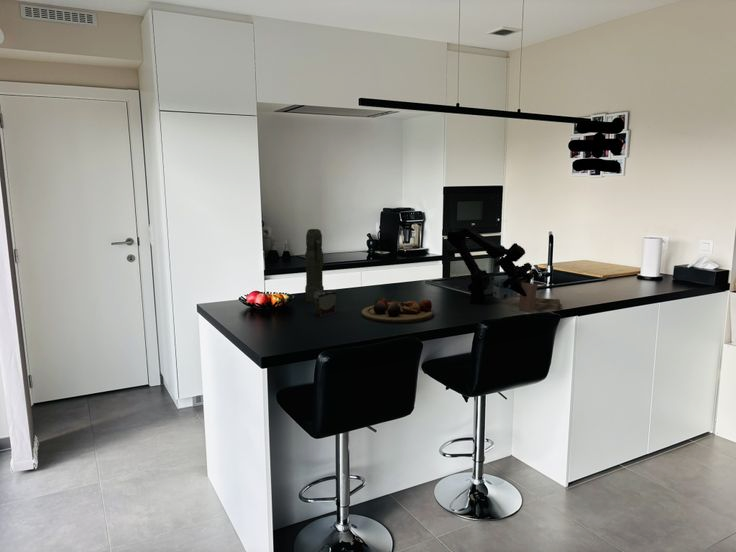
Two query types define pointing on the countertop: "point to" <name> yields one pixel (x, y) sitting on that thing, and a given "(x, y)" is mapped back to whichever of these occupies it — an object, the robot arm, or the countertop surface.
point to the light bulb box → (502, 288)
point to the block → (528, 297)
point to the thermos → (313, 264)
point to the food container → (325, 302)
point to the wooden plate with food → (398, 311)
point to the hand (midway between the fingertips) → (529, 295)
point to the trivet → (524, 311)
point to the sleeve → (547, 304)
